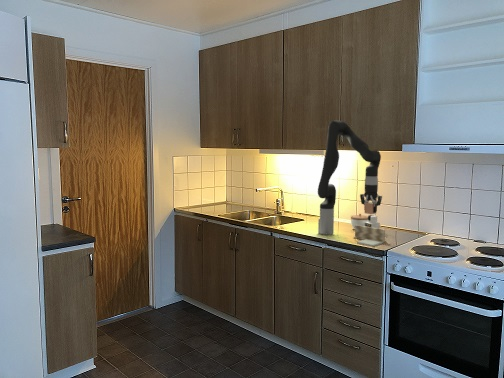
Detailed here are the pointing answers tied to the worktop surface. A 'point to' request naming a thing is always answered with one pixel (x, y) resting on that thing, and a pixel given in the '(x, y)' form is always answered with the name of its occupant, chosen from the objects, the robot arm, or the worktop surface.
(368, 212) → the terracotta block
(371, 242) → the pale green pad
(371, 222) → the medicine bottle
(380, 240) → the birch screen
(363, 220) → the lidded bowl
